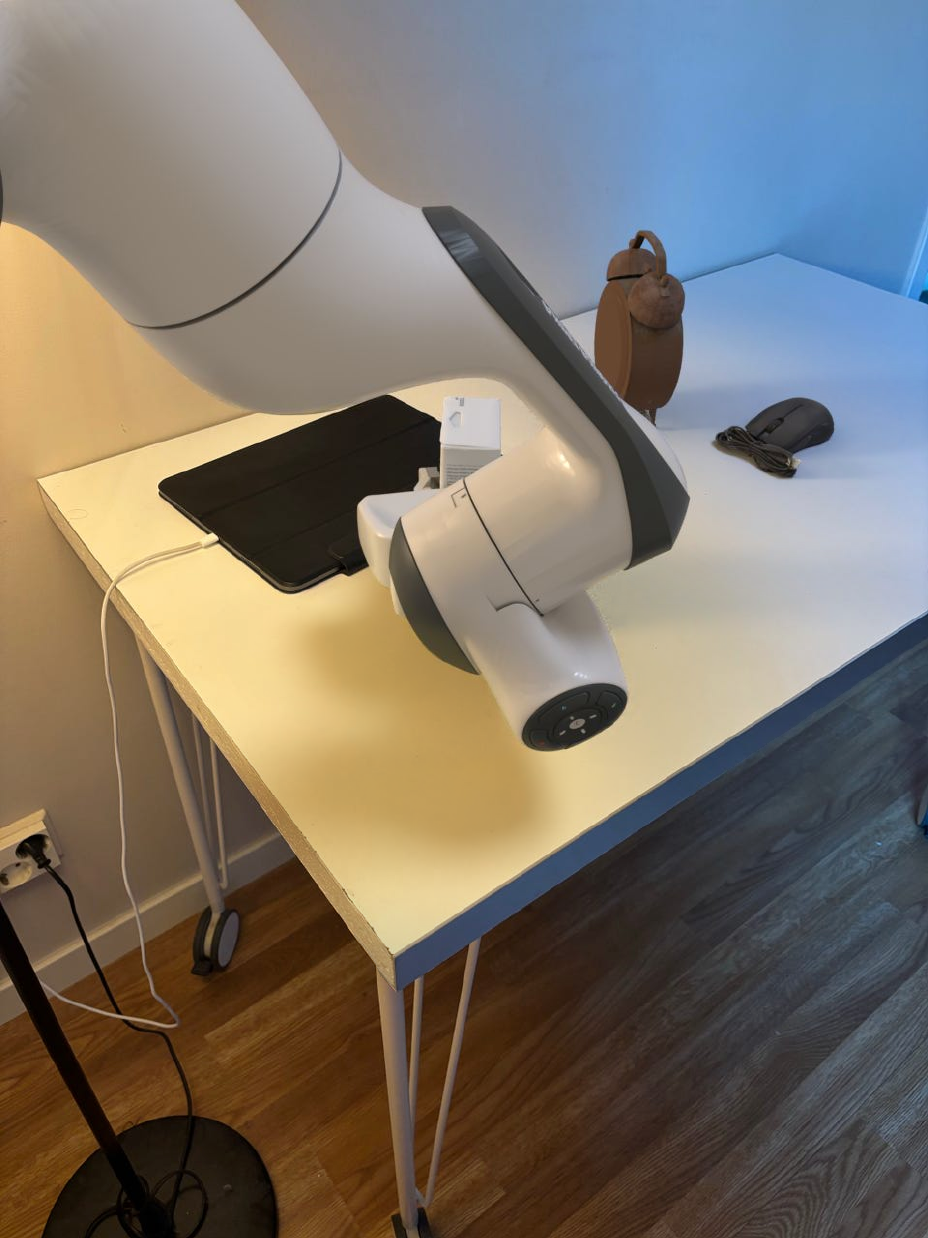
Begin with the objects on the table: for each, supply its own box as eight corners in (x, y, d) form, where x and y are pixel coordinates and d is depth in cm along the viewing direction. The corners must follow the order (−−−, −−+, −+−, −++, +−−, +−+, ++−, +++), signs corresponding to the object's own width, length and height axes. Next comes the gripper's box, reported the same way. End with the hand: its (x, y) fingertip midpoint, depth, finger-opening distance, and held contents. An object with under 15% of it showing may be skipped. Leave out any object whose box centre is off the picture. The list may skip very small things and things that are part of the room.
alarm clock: (677, 440, 106) (713, 260, 93) (614, 443, 105) (642, 262, 92) (639, 380, 117) (667, 211, 104) (582, 382, 116) (603, 212, 103)
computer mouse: (860, 439, 108) (870, 408, 105) (786, 483, 100) (795, 451, 98) (784, 405, 113) (792, 375, 111) (709, 444, 106) (716, 413, 103)
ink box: (495, 570, 80) (502, 448, 73) (437, 567, 80) (438, 445, 73) (495, 513, 87) (502, 395, 79) (441, 511, 87) (443, 393, 79)
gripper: (648, 518, 70) (588, 426, 80) (372, 549, 66) (345, 448, 76) (636, 585, 74) (580, 489, 84) (375, 619, 70) (349, 514, 80)
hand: (466, 470), depth 80 cm, fingers closed on ink box, 5 cm apart
